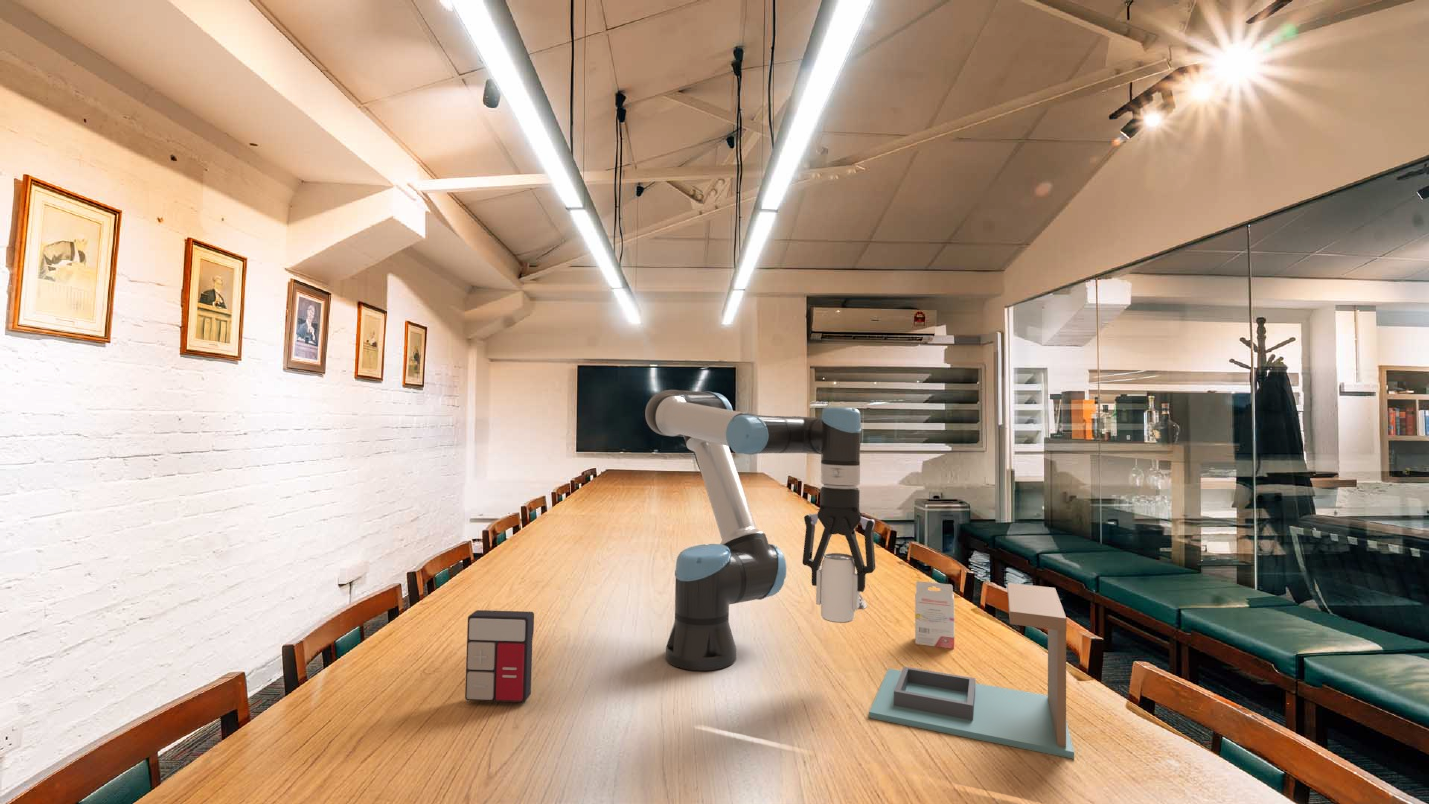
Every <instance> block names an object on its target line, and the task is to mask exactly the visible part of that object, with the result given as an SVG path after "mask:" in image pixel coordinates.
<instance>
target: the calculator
mask: <svg viewBox="0 0 1429 804" xmlns="http://www.w3.org/2000/svg"><path fill="white" fill-rule="evenodd" d="M534 625H535V613H534V612H533V611H524V610H523V611H520V610H519V611H517V610H489V609H488V610H487V609H485V610H481V609H480V610H478V609H477V610H475V611H474V612H472V613H471V614H470V615H468V617H467V628H466V629H467V631H466V633H467V634H466V635H467V636H466V661H465V663H466V665H465V667H466V668H465V690H464V691H465V692H464V693H465V694H464V695H465V696H464V698H465V700H466V701H472V702H473V701H476V702H478V701H479V702H503V703H505V702H506V703H507V702H508V703H525V702H526V701H527V700H528V699H529V698H530V696H531V693H532V668H533V666H532V665H533V659H532V658H533V639H534V629H535V626H534Z"/></svg>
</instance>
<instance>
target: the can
mask: <svg viewBox="0 0 1429 804" xmlns="http://www.w3.org/2000/svg"><path fill="white" fill-rule="evenodd" d="M821 568H822V572H821V604H820V616H821V618H822V619H823V620H824V621H827V622H830V623H831V622H832V623H836V624H837V623H838V624H846V623H850V622H852V621H854V619H855V614H856V613H855V611H856V610H853V575H854V574H855V573H856V567H855V563H854V560H853V557H852V554H847V553H840V552H832V553H831V552H828V553H825V554H824V557H823V559H822V562H821Z"/></svg>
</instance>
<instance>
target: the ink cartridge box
mask: <svg viewBox="0 0 1429 804" xmlns="http://www.w3.org/2000/svg"><path fill="white" fill-rule="evenodd" d="M915 584H916V585H915V588H916V590H915V598H914V599H915V600H914V601H915V602H914V603H915V604H914V605H915V608H914V609H915V611H914V612H915V613H914V615H915V616H914V618H915V620H914V621H915V622H914V623H915V626H914V628H915V629H914V634H915V635H914V636H915V637H914V639H915V640H914V643H915V644H916V645H921V646H922V645H923V646H930V647H935V648H943V649H944V648H945V649H952V650H954V649H955V594H954V591H953V590H954V589H953V588H954V586H953V585H952V584H950V583H941V582H940V583H939V582H931V581H921V580H918V581H916V583H915ZM929 588H936V589H940V590H933V589H931V590H930V589H929Z"/></svg>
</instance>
